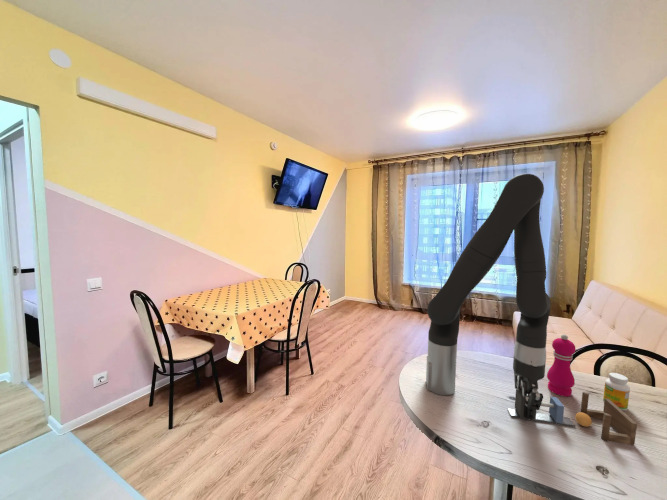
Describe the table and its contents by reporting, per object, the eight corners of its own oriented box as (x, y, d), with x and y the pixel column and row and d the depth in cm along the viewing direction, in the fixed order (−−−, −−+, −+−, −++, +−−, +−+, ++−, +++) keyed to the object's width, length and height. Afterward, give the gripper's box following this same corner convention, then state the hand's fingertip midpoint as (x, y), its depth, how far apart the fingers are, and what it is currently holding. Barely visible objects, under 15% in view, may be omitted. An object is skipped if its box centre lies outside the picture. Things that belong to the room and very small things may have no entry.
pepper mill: (578, 399, 88) (584, 340, 86) (553, 396, 90) (558, 338, 87) (564, 385, 95) (570, 331, 93) (541, 383, 97) (546, 329, 94)
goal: (603, 440, 72) (606, 416, 71) (579, 413, 82) (581, 391, 81) (634, 445, 70) (638, 421, 69) (606, 417, 80) (608, 395, 79)
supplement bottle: (599, 402, 87) (602, 373, 86) (608, 397, 89) (611, 369, 88) (622, 413, 82) (626, 382, 81) (630, 408, 84) (634, 378, 83)
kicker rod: (519, 416, 79) (521, 397, 79) (514, 407, 83) (515, 389, 82) (562, 423, 77) (564, 403, 76) (555, 413, 80) (556, 394, 80)
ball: (579, 428, 76) (580, 416, 76) (571, 419, 79) (572, 408, 79) (594, 430, 75) (595, 419, 75) (586, 421, 78) (587, 410, 78)
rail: (511, 417, 80) (511, 415, 80) (507, 410, 83) (507, 408, 83) (575, 427, 76) (575, 425, 76) (569, 419, 79) (569, 417, 79)
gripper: (506, 345, 86) (502, 395, 88) (524, 369, 73) (520, 427, 75) (533, 348, 85) (528, 399, 87) (557, 372, 71) (552, 433, 73)
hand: (525, 412), depth 81 cm, fingers closed on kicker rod, 4 cm apart
